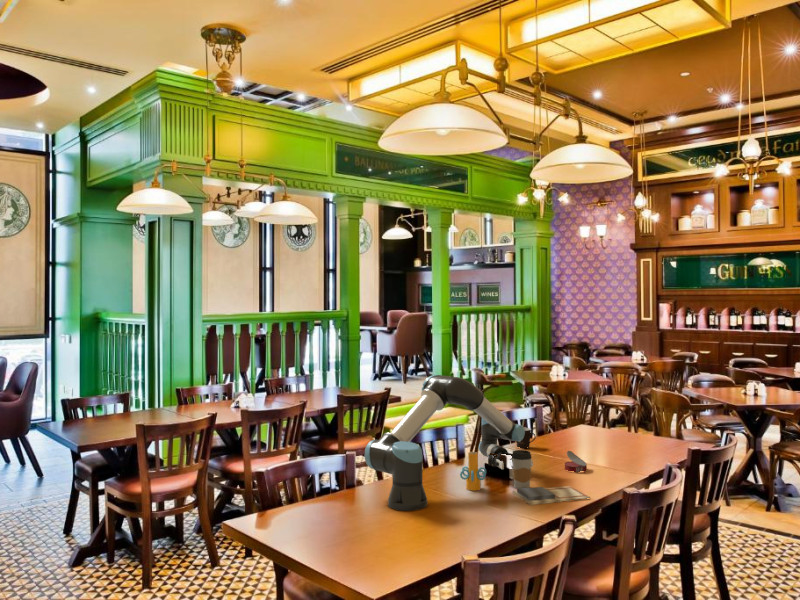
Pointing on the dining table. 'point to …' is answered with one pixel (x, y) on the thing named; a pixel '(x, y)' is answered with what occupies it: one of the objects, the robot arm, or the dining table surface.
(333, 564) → the dining table surface
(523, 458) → the coffee cup
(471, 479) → the orange box with loops
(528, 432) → the coffee mug
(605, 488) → the dining table surface
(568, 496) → the board
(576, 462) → the canned food
